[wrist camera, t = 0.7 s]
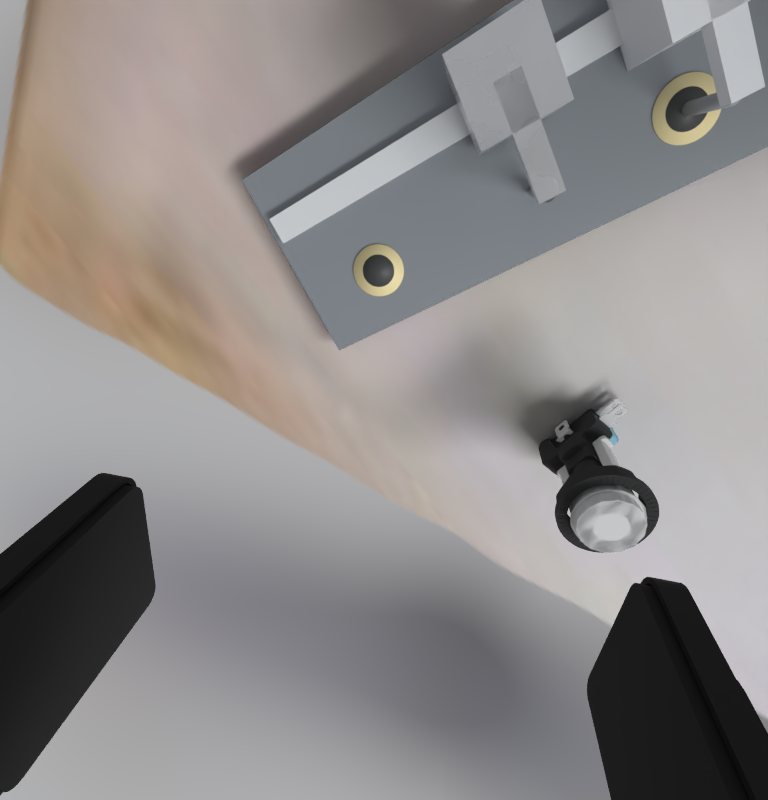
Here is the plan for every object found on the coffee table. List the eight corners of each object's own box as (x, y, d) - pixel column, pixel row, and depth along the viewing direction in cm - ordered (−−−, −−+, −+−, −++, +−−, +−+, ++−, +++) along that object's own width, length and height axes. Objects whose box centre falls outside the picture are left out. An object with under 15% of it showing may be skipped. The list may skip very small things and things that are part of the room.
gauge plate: (742, -143, 22) (866, -285, 15) (794, 127, 25) (913, 111, 19) (251, 180, 31) (191, 182, 24) (344, 343, 34) (314, 385, 28)
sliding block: (521, 33, 24) (538, -9, 18) (572, 177, 26) (601, 179, 21) (447, 80, 25) (442, 54, 20) (502, 213, 27) (511, 224, 22)
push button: (591, 374, 33) (638, 451, 24) (646, 421, 33) (711, 512, 24) (520, 437, 35) (538, 527, 27) (572, 479, 36) (606, 580, 27)
